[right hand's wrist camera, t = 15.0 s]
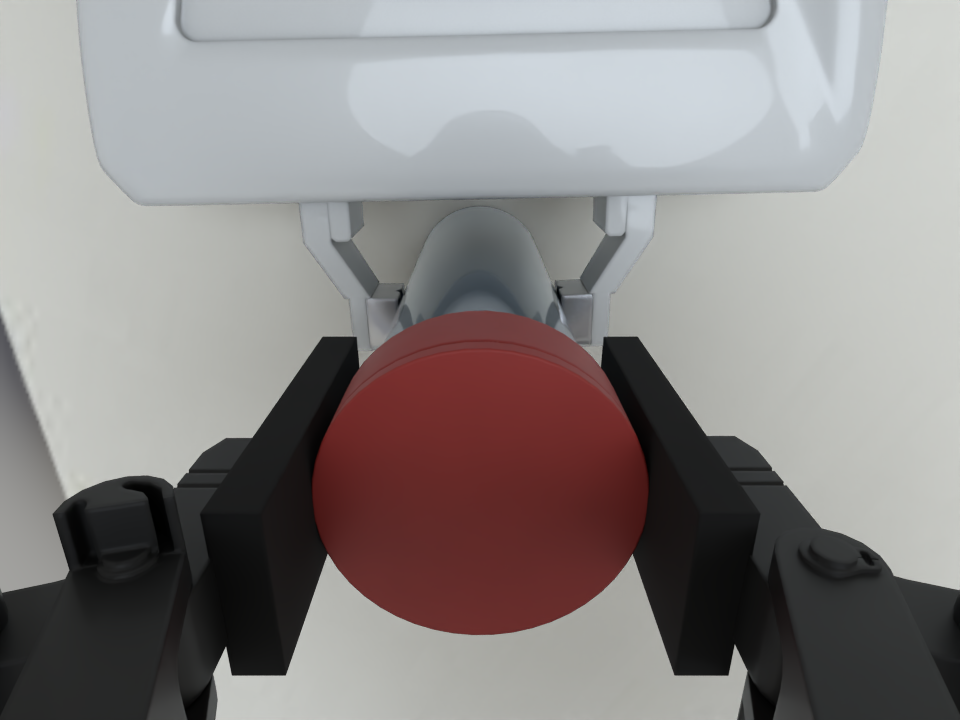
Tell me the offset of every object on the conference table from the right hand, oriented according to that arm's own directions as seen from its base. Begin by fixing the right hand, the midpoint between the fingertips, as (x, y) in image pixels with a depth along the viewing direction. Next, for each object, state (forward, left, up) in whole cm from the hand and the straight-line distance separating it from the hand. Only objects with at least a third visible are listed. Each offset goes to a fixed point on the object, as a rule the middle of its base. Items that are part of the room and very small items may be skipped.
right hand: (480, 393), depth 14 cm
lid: (0, 0, +4) cm, 4 cm away
